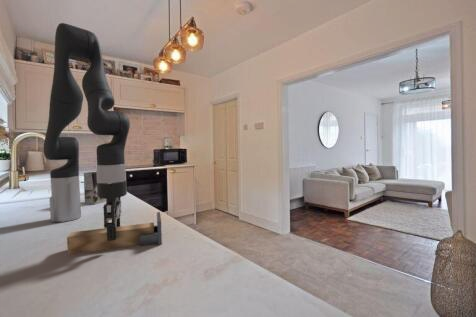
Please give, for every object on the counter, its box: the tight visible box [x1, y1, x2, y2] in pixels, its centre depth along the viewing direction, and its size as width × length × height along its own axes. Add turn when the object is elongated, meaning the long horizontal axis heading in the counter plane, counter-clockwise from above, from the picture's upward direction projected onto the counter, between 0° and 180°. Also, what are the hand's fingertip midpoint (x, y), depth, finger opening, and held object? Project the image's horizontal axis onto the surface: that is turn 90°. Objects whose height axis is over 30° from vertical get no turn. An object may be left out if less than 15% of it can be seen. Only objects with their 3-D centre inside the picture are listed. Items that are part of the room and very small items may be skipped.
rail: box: [66, 222, 155, 255], centre depth 68 cm, size 22×4×5 cm, turn 110°
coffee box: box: [83, 170, 107, 205], centre depth 122 cm, size 9×6×16 cm
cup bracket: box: [139, 211, 163, 247], centre depth 72 cm, size 6×10×7 cm, turn 20°
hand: (114, 234), depth 68 cm, fingers open, 8 cm apart
